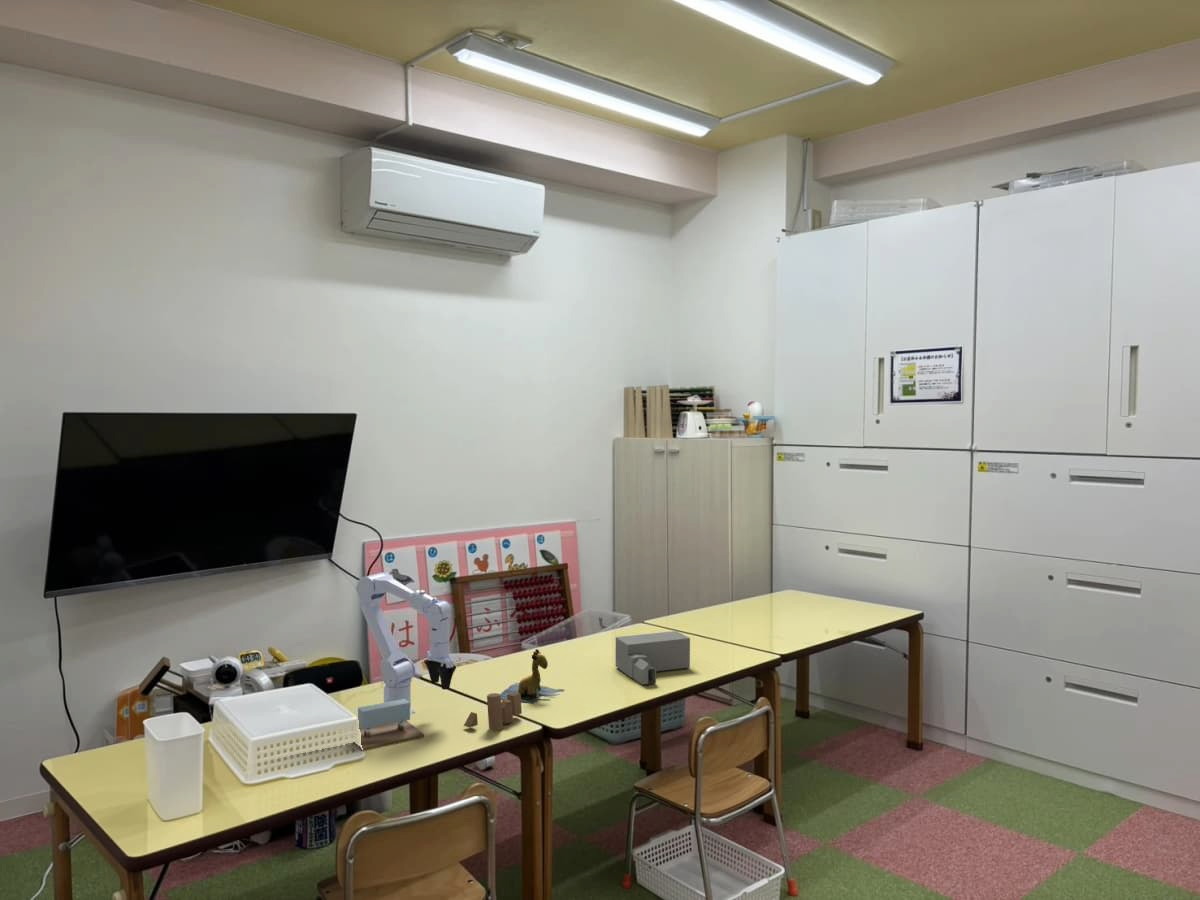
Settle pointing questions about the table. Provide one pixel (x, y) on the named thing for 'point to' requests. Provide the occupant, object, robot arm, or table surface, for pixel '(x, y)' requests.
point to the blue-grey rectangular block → (384, 713)
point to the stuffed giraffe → (532, 683)
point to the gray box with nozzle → (652, 654)
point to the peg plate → (388, 734)
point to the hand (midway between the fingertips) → (440, 685)
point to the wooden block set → (498, 711)
